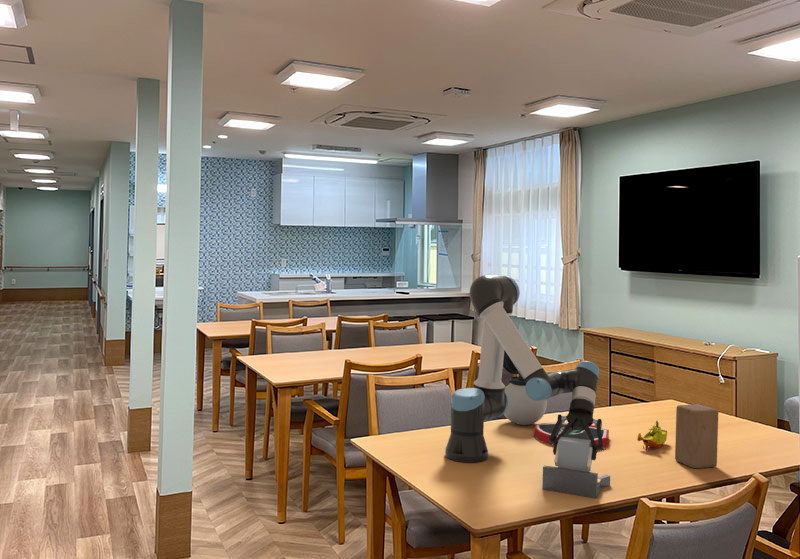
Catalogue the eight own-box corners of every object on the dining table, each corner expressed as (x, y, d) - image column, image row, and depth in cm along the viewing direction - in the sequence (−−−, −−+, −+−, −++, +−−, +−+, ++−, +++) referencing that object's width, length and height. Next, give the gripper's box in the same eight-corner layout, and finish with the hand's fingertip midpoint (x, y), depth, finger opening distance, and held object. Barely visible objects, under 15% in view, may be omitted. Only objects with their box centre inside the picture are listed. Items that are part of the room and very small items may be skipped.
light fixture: (505, 430, 264) (507, 350, 264) (493, 416, 287) (494, 343, 286) (552, 430, 266) (554, 350, 265) (536, 416, 289) (537, 343, 288)
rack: (546, 474, 210) (546, 453, 210) (610, 484, 201) (610, 462, 201) (535, 488, 197) (536, 465, 197) (603, 499, 188) (604, 476, 188)
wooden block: (693, 469, 218) (695, 411, 217) (673, 460, 227) (675, 404, 227) (718, 467, 220) (719, 409, 220) (697, 458, 230) (699, 403, 229)
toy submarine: (636, 450, 240) (636, 423, 239) (656, 441, 252) (657, 415, 252) (653, 453, 235) (653, 426, 235) (673, 444, 248) (674, 418, 248)
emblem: (550, 417, 274) (620, 429, 256) (550, 426, 274) (620, 439, 256) (517, 431, 250) (593, 446, 231) (517, 441, 250) (592, 456, 231)
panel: (560, 471, 201) (561, 436, 201) (590, 475, 197) (590, 440, 197) (557, 475, 197) (558, 440, 197) (587, 480, 193) (588, 444, 193)
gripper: (618, 414, 206) (610, 477, 192) (550, 407, 215) (538, 467, 201) (616, 400, 201) (608, 465, 187) (547, 394, 210) (534, 455, 196)
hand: (572, 466), depth 194 cm, fingers closed on panel, 9 cm apart
